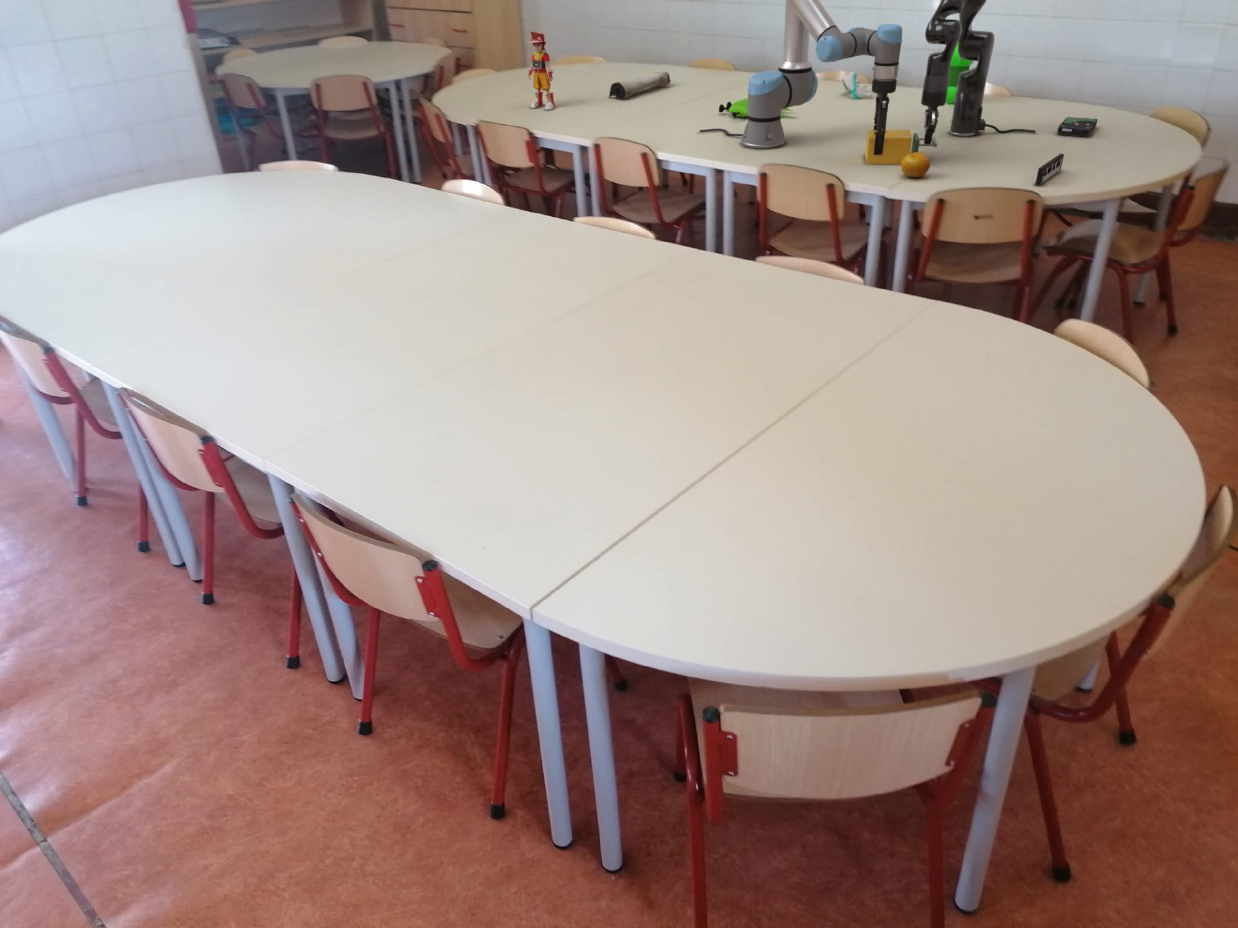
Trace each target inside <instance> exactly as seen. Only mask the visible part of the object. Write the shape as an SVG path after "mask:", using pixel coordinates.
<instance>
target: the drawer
mask: <svg viewBox="0 0 1238 928" xmlns="http://www.w3.org/2000/svg"><path fill="white" fill-rule="evenodd" d="M924 138H925V137H919V134H918V133H917V132H913V134H912V142H911V150H910V153H914V152H919V150H920V147H933V148H937V147H938V143H937V141H936V138H935V136H932V142H931V144H924V143H921V141H924Z"/></svg>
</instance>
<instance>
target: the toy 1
mask: <svg viewBox="0 0 1238 928" xmlns="http://www.w3.org/2000/svg"><path fill="white" fill-rule="evenodd" d="M529 33H530V35H531V36H528V37H527V38H528V39H529V40H528V41H527V43H529V44H530V43H531V44H532V48H533V50H534V51H533V52H532V55H531V58H530V59H531V63H530V66H528V74H527V75H528V76H527V77H528V79H529V80H531V75H532V74H533V84H532V85H533V86H532V87H533V88H534V89H535V90H536V92H534V95H535V97H536V100H535V101H533V102H531V105H530V108H531V109H535V108H538V107H542V106H544V101H543V100H544V99H543V95H544V92H546V94H545V97H546V99H547V103H546V104H545V106H544V110H546V111H549V110H553V109H554V107H555V106H556V105H555V99H554V92H551V91H550V90H551V86H552V84H551V82H552V81H553V80H554V77H553V73H554V71H555V70H554V69H552V68H551V63H550V61H551V59H550V58H551V57H550V54H549V53H548V52H547V50H546V48H545V46H546V44H547V41H545V35H544V33H543V32H542V33H539V32H535V31H529Z"/></svg>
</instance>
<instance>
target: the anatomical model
mask: <svg viewBox="0 0 1238 928" xmlns="http://www.w3.org/2000/svg"><path fill="white" fill-rule="evenodd" d="M857 77H858V74H857V73H856V72H855V71H854V70H850V71H849V73H848V74H847V75H843V76H842V77H841V83H842V85H843V87H844V90H845V91H846V92H850V93H851V95H852V96H853V98H854V99H856V100H857V99H861V98H865V97H867V98H871V97H872V96H873V92H867V88H868V87H869V85H870V84H869V83H865V84H864V85H861V86H860V85H859V83H860V81H861V80H862V79H861V78H858V79H856V78H857Z"/></svg>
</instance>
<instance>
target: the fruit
mask: <svg viewBox="0 0 1238 928" xmlns="http://www.w3.org/2000/svg"><path fill="white" fill-rule="evenodd" d="M930 168H931V161H930V158H929V157H928V155H926V154H925V153H923V152H920V151H918V152H914V153H911V152H910V154H908V155H906V156H905V157H904V158H903V160H902V163H901V164H900V170H901V172H902V173H903V174H904V176H906V177H909V178H921V177H923V176H925V175H926V174H927V172H929V170H930Z"/></svg>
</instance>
